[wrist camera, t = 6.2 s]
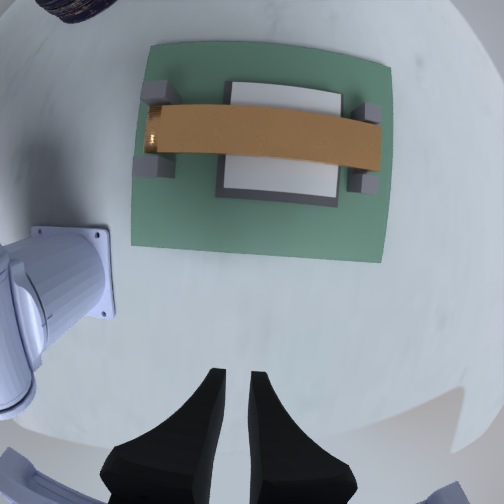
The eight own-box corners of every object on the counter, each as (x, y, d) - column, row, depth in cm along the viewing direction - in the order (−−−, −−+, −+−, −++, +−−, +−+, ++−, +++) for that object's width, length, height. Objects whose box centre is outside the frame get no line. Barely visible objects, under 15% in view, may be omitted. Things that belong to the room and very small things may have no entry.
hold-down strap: (150, 155, 17) (140, 152, 15) (154, 112, 16) (145, 105, 14) (369, 172, 17) (381, 171, 15) (371, 130, 16) (382, 125, 15)
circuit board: (137, 242, 21) (107, 257, 16) (155, 51, 17) (133, 24, 12) (374, 259, 21) (404, 278, 16) (384, 72, 17) (413, 50, 13)
